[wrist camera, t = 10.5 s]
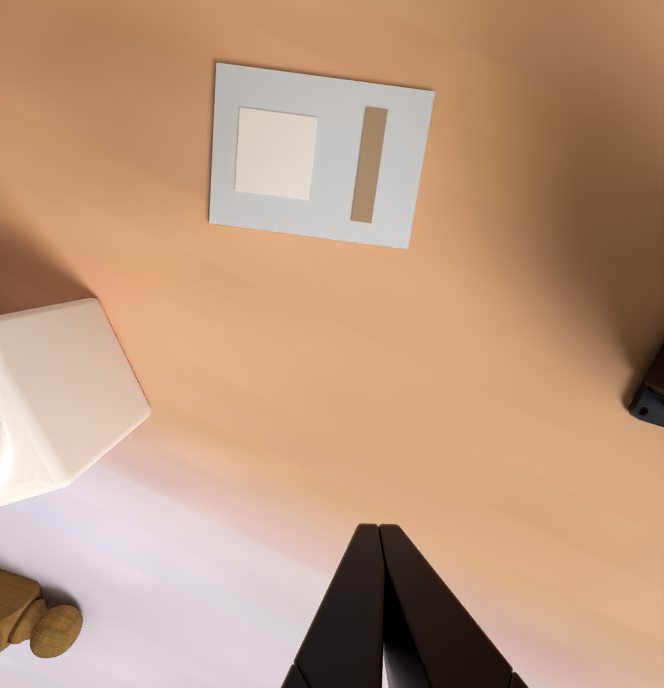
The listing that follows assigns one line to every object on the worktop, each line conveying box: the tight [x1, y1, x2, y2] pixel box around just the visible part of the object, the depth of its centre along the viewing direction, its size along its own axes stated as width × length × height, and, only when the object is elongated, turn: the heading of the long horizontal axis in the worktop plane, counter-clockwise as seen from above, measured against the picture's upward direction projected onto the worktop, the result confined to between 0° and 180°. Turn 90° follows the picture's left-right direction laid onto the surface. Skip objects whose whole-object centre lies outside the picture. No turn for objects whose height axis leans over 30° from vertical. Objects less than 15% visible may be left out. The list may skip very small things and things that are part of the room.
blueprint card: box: [209, 63, 435, 249], centre depth 18 cm, size 10×7×1 cm
